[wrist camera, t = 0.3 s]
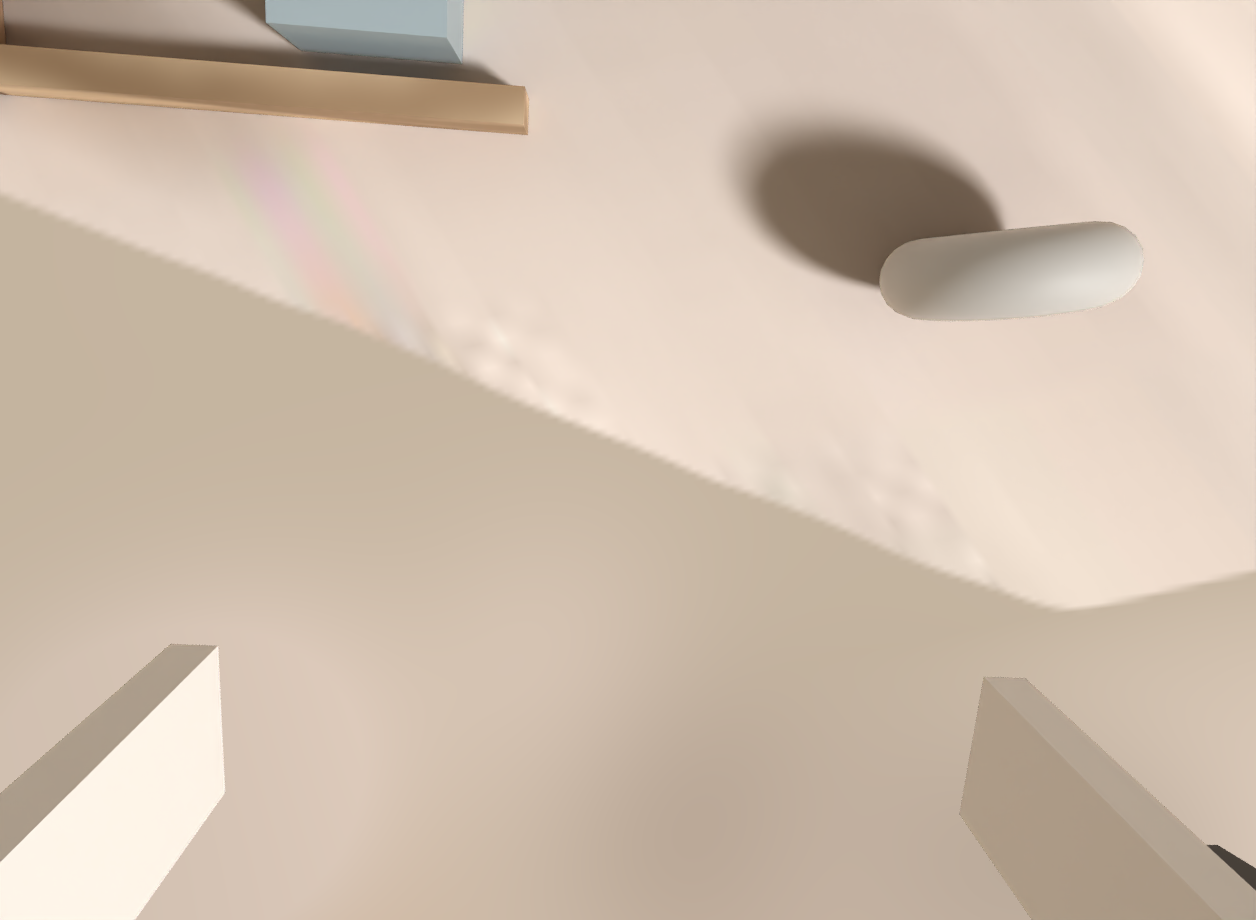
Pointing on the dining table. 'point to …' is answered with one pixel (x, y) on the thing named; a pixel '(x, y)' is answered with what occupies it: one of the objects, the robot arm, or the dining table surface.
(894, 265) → the donut
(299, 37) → the block
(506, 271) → the dining table surface
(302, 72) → the track
